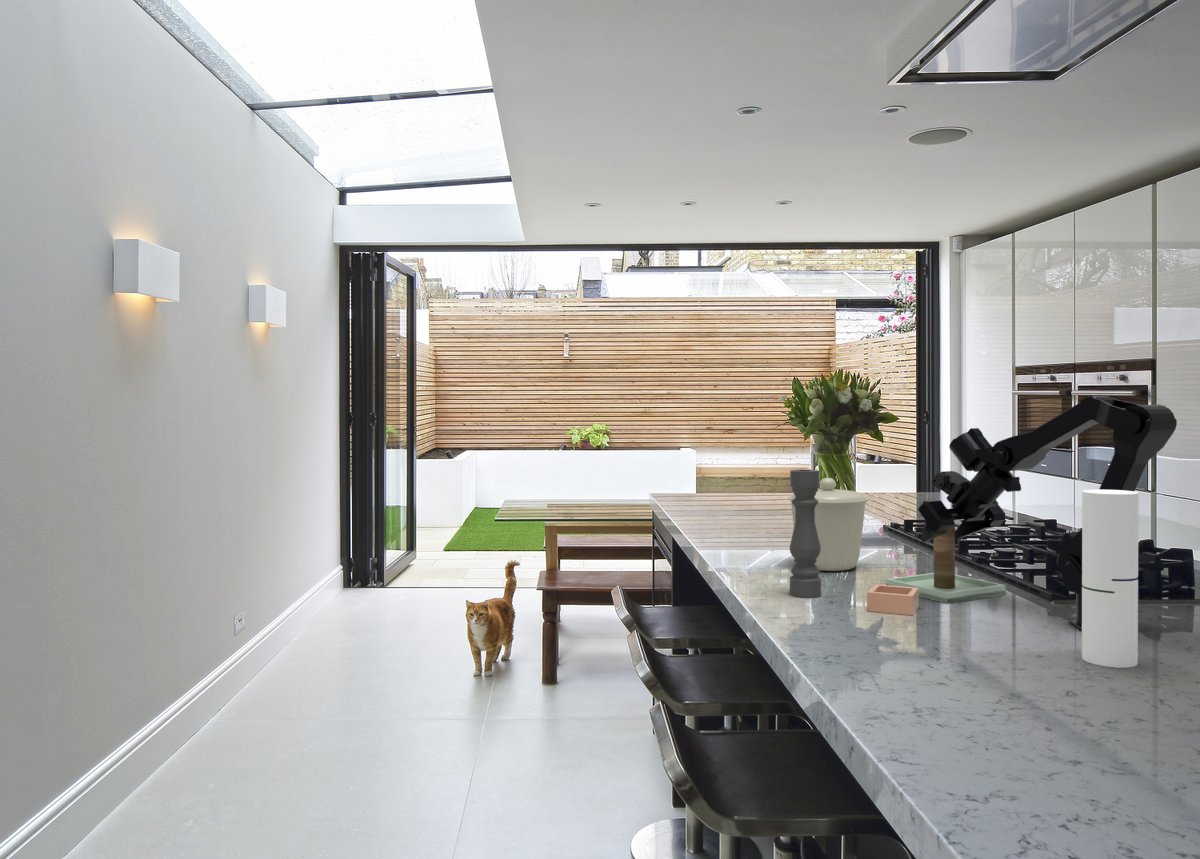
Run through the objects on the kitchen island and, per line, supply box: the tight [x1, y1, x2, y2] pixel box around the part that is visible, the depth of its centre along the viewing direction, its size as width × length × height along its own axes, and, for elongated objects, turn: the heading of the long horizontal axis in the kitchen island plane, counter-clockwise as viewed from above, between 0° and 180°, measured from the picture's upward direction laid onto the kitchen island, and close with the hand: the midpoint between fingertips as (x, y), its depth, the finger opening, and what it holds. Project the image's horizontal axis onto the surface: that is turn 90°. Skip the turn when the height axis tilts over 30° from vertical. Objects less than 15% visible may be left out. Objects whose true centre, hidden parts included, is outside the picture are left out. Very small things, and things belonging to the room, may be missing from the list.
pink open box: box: [866, 584, 920, 616], centre depth 164 cm, size 8×8×4 cm
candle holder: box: [789, 469, 822, 599], centre depth 177 cm, size 6×6×25 cm
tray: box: [885, 572, 1007, 605], centre depth 178 cm, size 16×16×2 cm
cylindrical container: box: [1081, 489, 1140, 669], centre depth 129 cm, size 7×7×25 cm
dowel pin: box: [933, 521, 956, 589], centre depth 178 cm, size 4×4×15 cm
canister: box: [787, 477, 869, 572], centre depth 205 cm, size 18×18×21 cm
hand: (938, 539), depth 179 cm, fingers open, 9 cm apart
